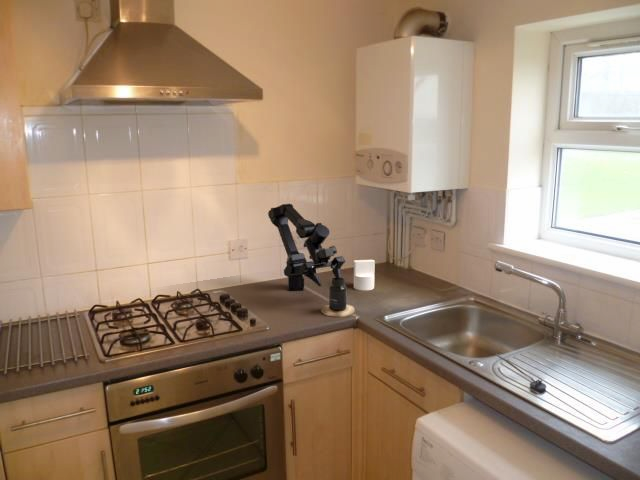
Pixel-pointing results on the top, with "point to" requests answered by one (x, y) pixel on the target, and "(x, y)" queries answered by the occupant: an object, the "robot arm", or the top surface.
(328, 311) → the beige round plate
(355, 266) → the cylinder with rectangular tab
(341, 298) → the supplement bottle
